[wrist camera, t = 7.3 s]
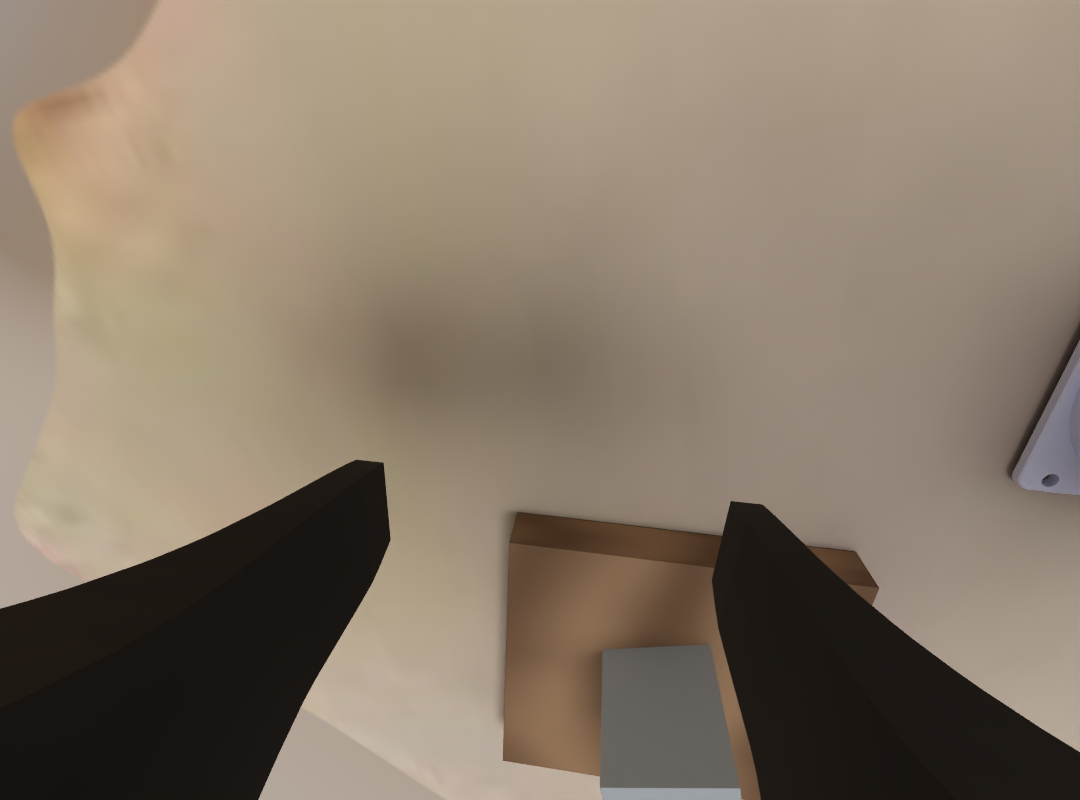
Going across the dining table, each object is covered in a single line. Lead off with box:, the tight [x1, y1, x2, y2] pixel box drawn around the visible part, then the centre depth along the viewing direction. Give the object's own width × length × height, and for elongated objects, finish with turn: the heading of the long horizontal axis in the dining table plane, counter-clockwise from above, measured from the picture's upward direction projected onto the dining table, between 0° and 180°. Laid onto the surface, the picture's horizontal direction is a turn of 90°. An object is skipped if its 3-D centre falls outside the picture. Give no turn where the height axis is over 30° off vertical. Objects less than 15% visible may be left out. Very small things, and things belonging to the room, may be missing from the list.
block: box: [600, 644, 741, 800], centre depth 20 cm, size 4×4×6 cm
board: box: [503, 513, 879, 800], centre depth 24 cm, size 14×14×2 cm
